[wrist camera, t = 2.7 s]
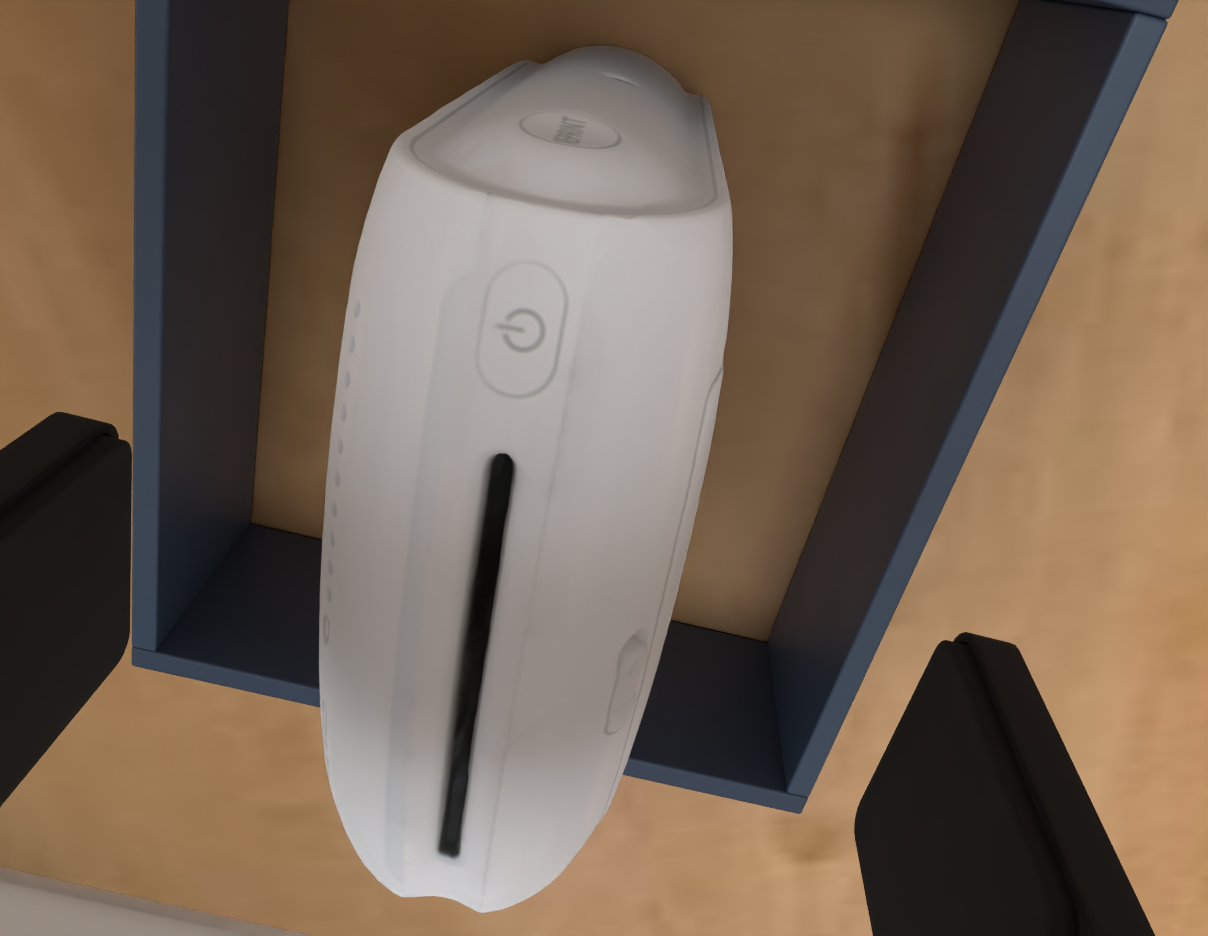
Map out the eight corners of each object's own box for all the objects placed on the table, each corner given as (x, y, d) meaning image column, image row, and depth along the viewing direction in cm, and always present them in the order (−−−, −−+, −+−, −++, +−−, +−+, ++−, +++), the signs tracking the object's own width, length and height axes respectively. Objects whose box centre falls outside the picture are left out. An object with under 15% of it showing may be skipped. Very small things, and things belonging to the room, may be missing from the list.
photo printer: (507, 16, 18) (258, 119, 7) (733, 61, 19) (812, 228, 8) (452, 489, 23) (251, 971, 12) (631, 523, 23) (589, 1029, 12)
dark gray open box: (277, -240, 17) (135, -307, 12) (1060, -29, 17) (1189, -20, 13) (230, 535, 24) (130, 666, 20) (779, 662, 25) (801, 815, 21)
